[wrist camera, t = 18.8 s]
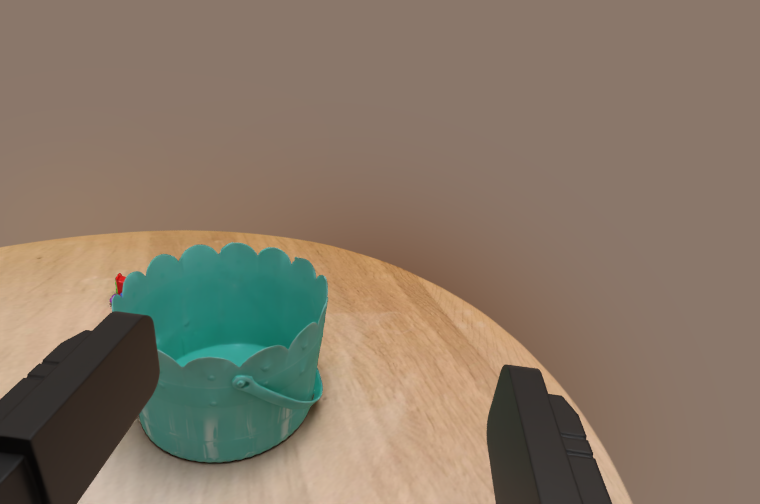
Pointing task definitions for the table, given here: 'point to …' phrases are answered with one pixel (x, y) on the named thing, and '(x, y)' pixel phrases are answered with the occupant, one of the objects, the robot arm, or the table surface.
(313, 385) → the basket
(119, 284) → the gummy bear
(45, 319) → the table surface
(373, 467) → the table surface
